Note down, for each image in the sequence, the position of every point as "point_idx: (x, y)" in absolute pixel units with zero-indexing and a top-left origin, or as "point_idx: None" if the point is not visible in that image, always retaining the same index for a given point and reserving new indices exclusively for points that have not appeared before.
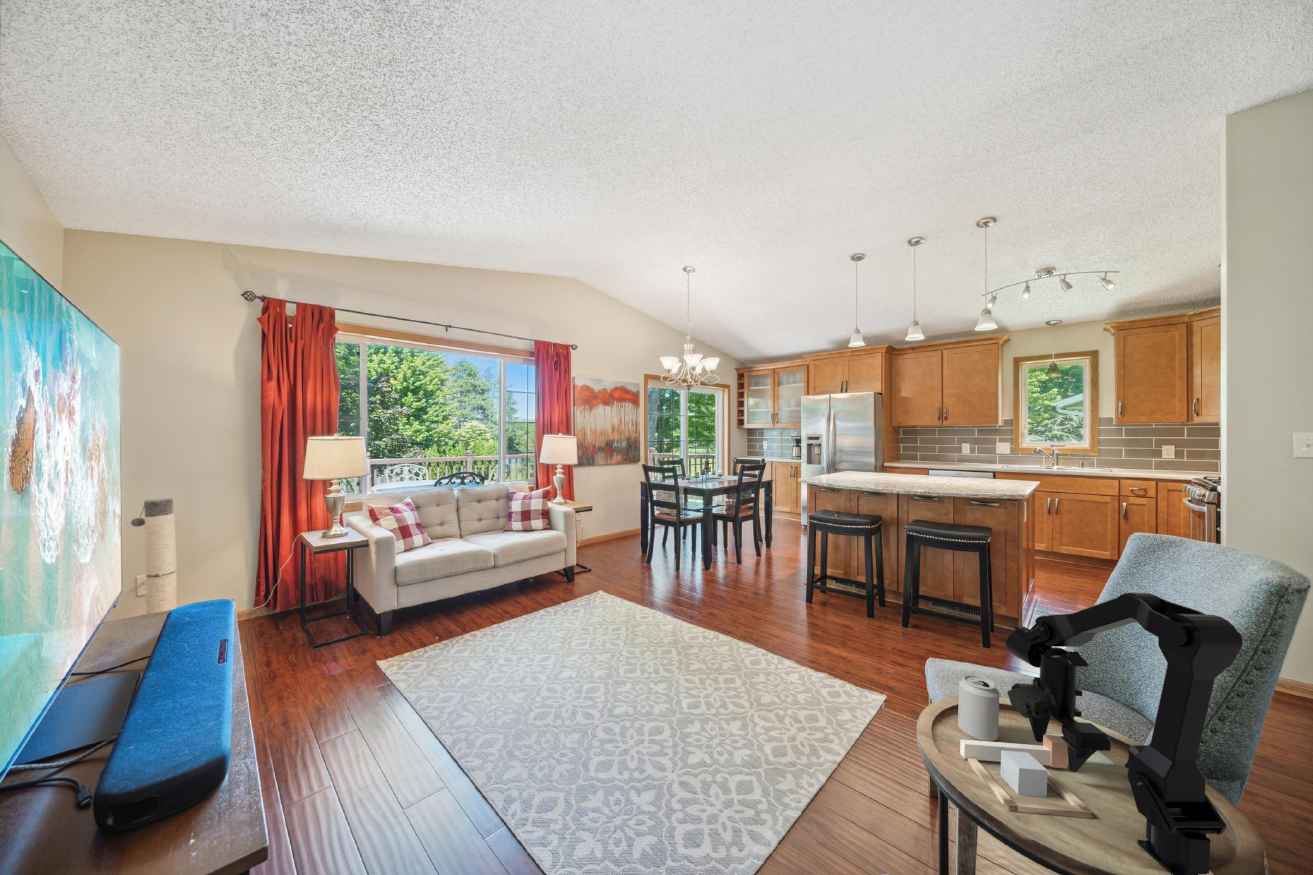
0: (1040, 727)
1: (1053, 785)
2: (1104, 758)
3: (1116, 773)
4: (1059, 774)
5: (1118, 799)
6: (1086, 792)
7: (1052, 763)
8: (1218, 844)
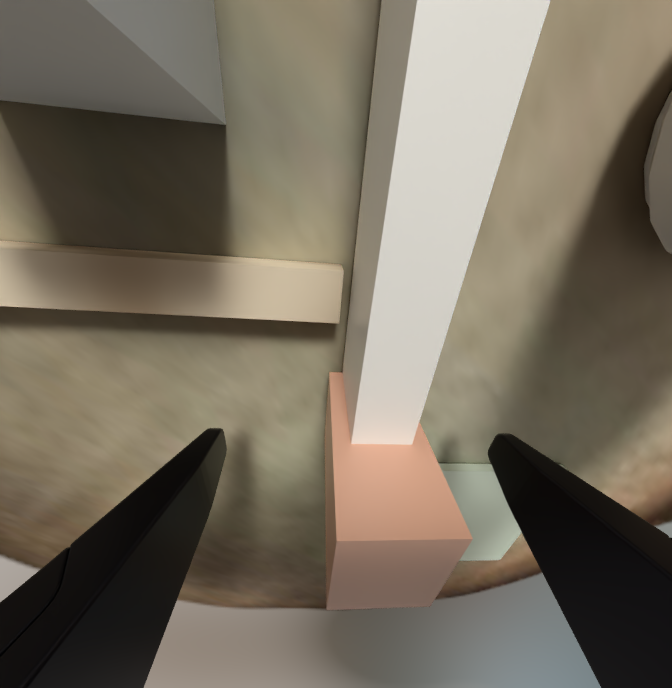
0: (574, 557)
1: (137, 254)
2: None
3: None
4: (298, 377)
5: None
6: (178, 403)
7: (330, 389)
8: None
